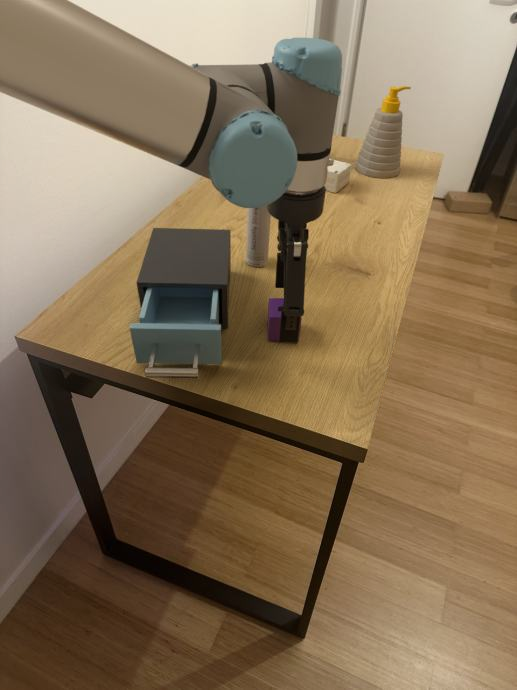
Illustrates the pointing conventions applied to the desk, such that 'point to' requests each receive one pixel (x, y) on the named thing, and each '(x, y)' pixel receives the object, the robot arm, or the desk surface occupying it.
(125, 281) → the desk surface
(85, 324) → the desk surface
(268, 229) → the bottle
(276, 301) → the purple cube
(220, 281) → the grey square box housing
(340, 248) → the desk surface
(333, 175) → the small box
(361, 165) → the soap bottle
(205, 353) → the drawer
